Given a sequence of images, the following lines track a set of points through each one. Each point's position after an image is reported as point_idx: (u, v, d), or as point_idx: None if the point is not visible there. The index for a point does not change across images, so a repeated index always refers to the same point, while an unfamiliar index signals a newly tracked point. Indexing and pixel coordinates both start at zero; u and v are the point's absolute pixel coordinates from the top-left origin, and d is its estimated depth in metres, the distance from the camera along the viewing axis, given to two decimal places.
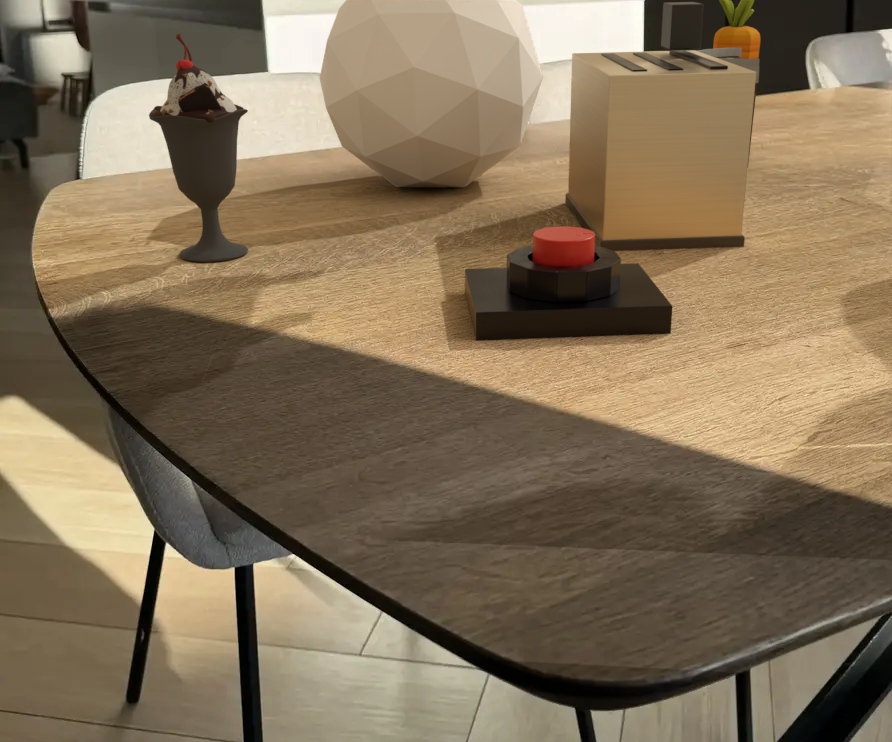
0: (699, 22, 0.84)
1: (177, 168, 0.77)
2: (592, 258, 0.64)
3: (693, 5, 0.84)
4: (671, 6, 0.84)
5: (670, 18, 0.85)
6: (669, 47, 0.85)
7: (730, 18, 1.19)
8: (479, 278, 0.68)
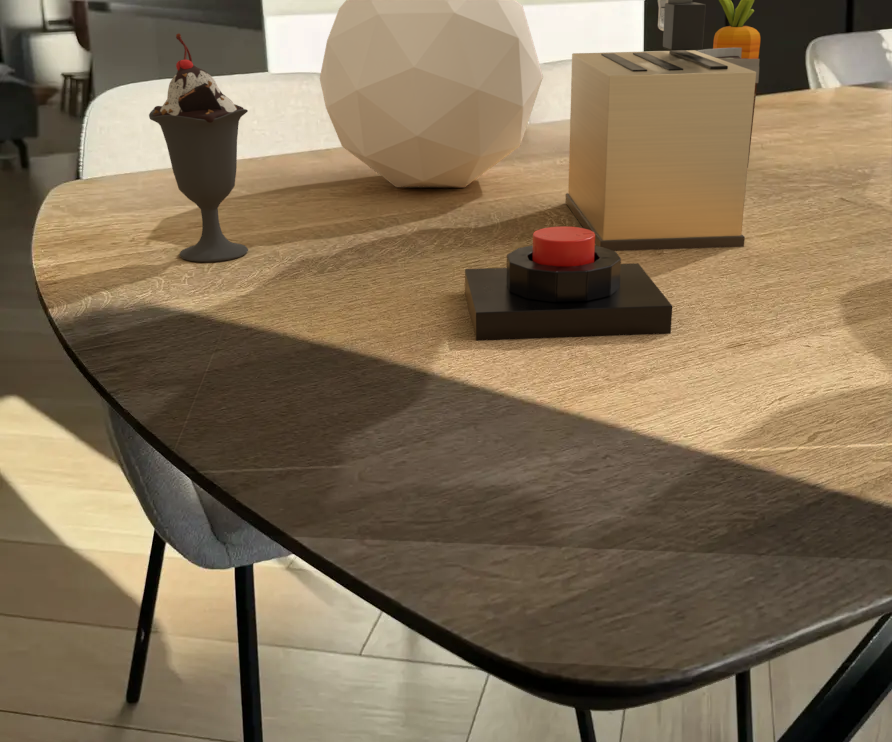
0: (701, 23, 0.84)
1: (177, 168, 0.77)
2: (592, 258, 0.64)
3: (695, 5, 0.83)
4: (673, 6, 0.84)
5: (672, 19, 0.84)
6: (671, 48, 0.85)
7: (730, 18, 1.19)
8: (479, 278, 0.68)
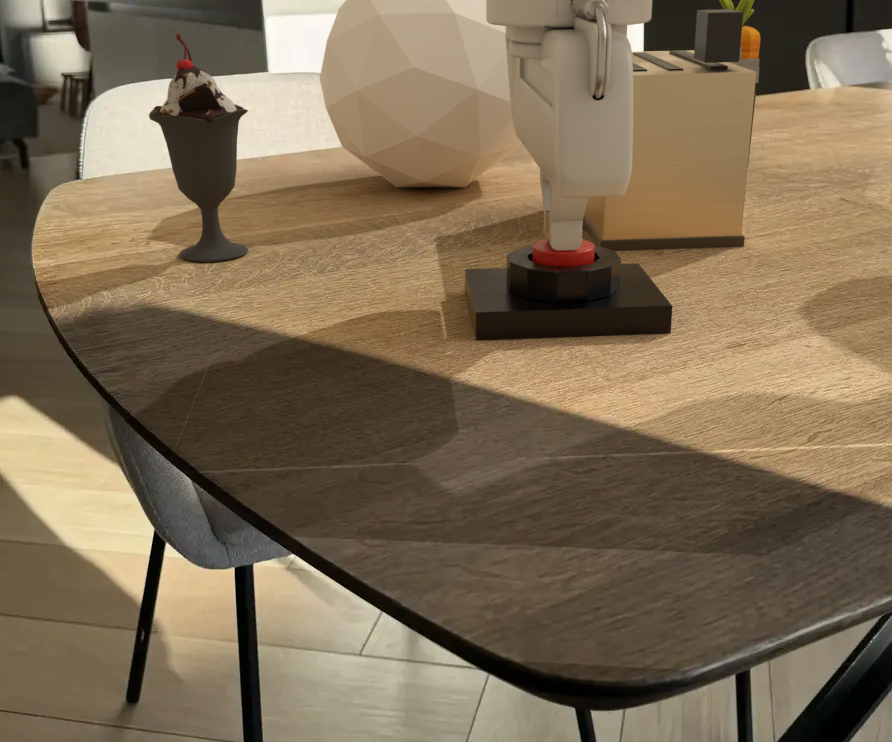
0: (738, 32, 0.75)
1: (177, 168, 0.77)
2: None
3: (732, 13, 0.75)
4: (707, 14, 0.75)
5: (705, 28, 0.75)
6: (704, 60, 0.76)
7: None
8: (479, 278, 0.68)
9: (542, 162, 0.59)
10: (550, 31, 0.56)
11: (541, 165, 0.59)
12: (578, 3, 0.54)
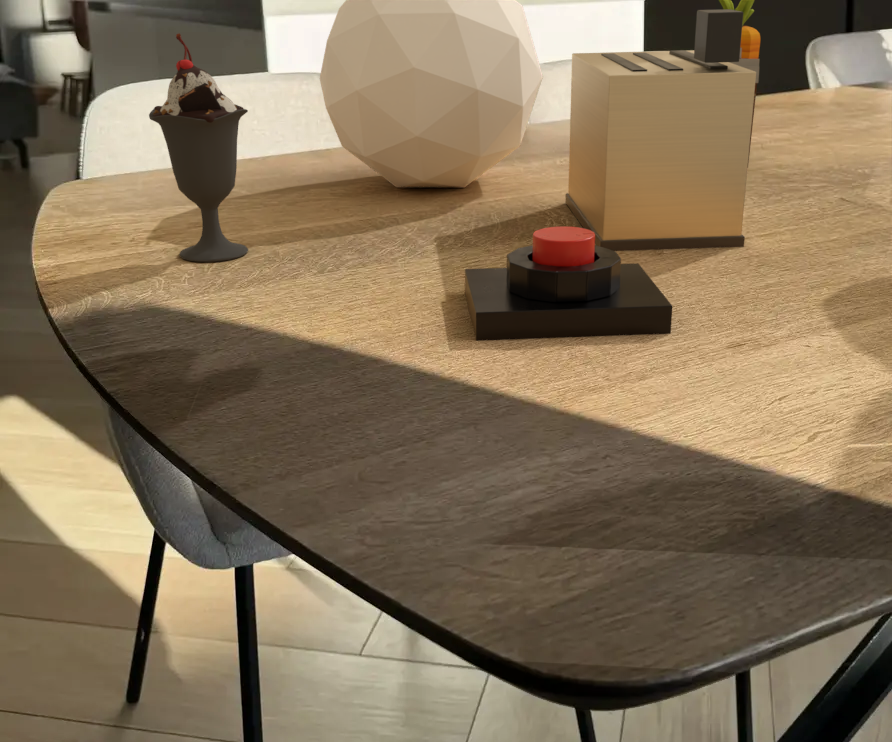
0: (738, 32, 0.75)
1: (177, 168, 0.77)
2: (592, 258, 0.64)
3: (732, 13, 0.75)
4: (707, 14, 0.75)
5: (705, 28, 0.75)
6: (704, 60, 0.76)
7: None
8: (479, 278, 0.68)
9: None
10: None
11: None
12: None
